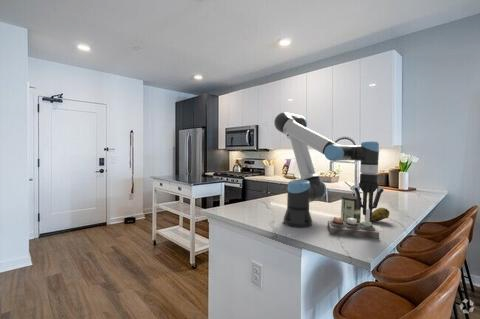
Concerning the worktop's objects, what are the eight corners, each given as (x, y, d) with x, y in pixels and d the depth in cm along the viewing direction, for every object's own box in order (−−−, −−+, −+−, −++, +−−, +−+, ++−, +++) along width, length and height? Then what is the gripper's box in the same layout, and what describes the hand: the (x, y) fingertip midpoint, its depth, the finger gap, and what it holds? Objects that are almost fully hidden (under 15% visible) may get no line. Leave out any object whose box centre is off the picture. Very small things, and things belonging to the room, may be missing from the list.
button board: (330, 234, 114) (330, 225, 114) (327, 226, 126) (327, 218, 126) (378, 239, 109) (379, 230, 109) (371, 230, 121) (371, 222, 121)
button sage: (362, 227, 114) (362, 223, 114) (360, 224, 118) (360, 220, 118) (372, 228, 113) (372, 224, 113) (369, 225, 117) (370, 221, 117)
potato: (362, 218, 142) (363, 205, 141) (385, 220, 140) (386, 206, 139) (367, 223, 133) (368, 208, 133) (392, 224, 131) (393, 210, 131)
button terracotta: (333, 222, 118) (334, 218, 117) (332, 220, 122) (332, 216, 122) (343, 223, 116) (343, 219, 116) (341, 220, 121) (341, 217, 120)
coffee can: (357, 219, 139) (358, 195, 139) (362, 225, 129) (364, 199, 129) (338, 218, 141) (339, 194, 141) (342, 223, 131) (343, 198, 131)
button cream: (348, 223, 116) (348, 219, 116) (346, 221, 120) (346, 217, 120) (357, 224, 115) (357, 220, 115) (355, 222, 119) (355, 218, 119)
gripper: (355, 173, 113) (353, 223, 114) (386, 174, 109) (384, 225, 110) (352, 172, 120) (350, 218, 121) (381, 173, 117) (379, 221, 118)
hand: (366, 221), depth 116 cm, fingers closed
